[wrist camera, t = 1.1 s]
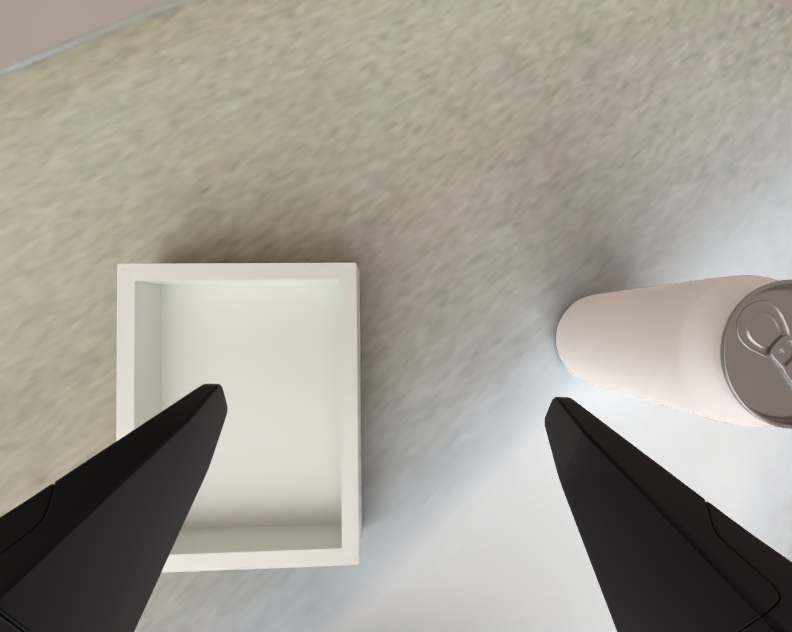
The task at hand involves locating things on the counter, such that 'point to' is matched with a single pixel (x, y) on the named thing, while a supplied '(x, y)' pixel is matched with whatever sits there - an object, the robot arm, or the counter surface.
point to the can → (690, 347)
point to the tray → (254, 403)
